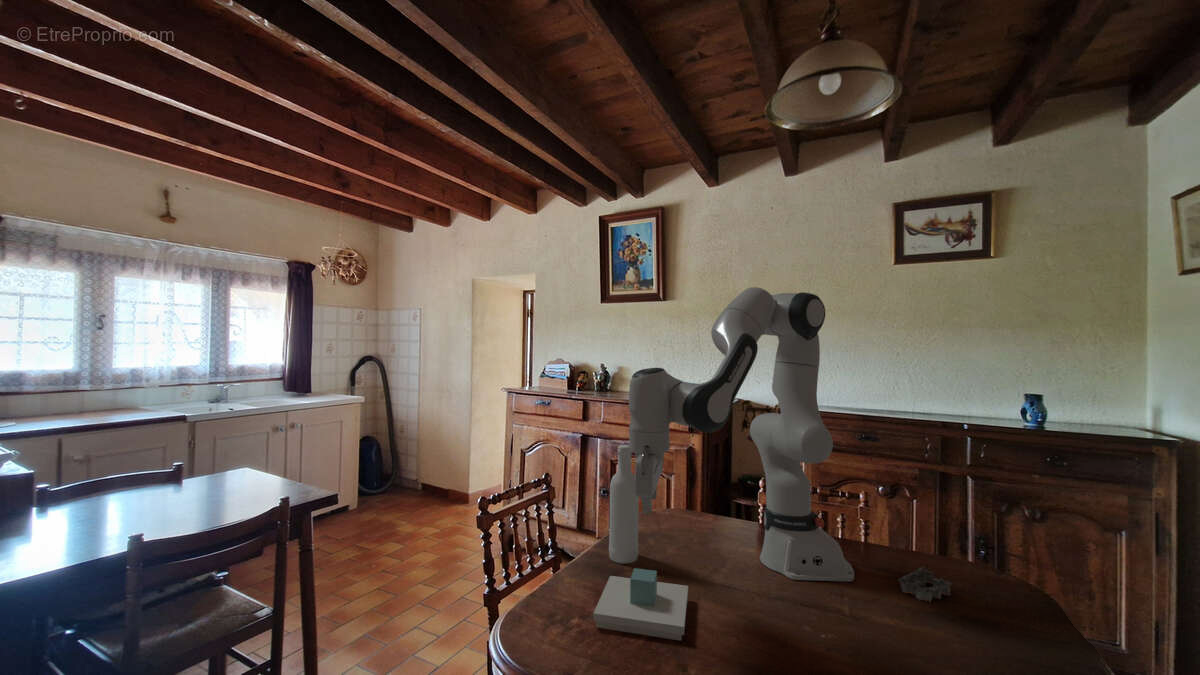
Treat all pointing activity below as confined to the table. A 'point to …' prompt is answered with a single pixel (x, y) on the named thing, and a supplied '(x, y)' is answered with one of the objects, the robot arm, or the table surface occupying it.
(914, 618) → the table surface
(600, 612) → the cream wooden base
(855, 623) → the table surface
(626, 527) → the bottle
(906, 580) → the grey jagged ring
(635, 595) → the teal block
